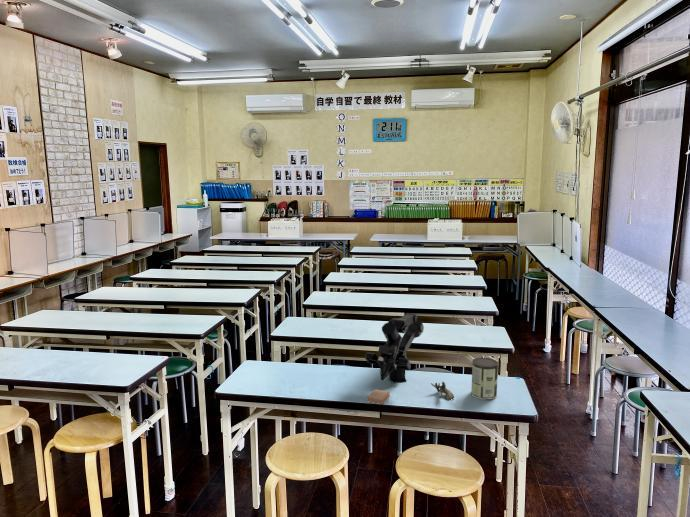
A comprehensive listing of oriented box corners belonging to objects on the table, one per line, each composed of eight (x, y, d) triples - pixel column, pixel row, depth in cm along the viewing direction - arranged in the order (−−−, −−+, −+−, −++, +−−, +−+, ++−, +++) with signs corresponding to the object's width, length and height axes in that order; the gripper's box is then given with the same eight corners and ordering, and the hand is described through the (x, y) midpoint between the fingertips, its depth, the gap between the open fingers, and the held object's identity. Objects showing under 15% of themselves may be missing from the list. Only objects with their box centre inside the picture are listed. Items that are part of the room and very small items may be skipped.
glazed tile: (375, 389, 210) (367, 396, 203) (389, 392, 207) (382, 400, 200) (375, 395, 210) (367, 402, 203) (389, 398, 207) (382, 405, 200)
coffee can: (482, 387, 216) (484, 355, 214) (502, 396, 207) (504, 363, 205) (465, 393, 210) (466, 360, 208) (484, 402, 202) (486, 368, 200)
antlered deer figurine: (427, 392, 208) (441, 396, 201) (433, 376, 210) (448, 379, 203) (440, 399, 212) (455, 403, 204) (446, 382, 214) (461, 386, 206)
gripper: (366, 333, 213) (355, 367, 205) (409, 340, 205) (399, 375, 197) (373, 346, 221) (363, 379, 213) (415, 352, 213) (405, 387, 205)
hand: (382, 380), depth 207 cm, fingers closed
